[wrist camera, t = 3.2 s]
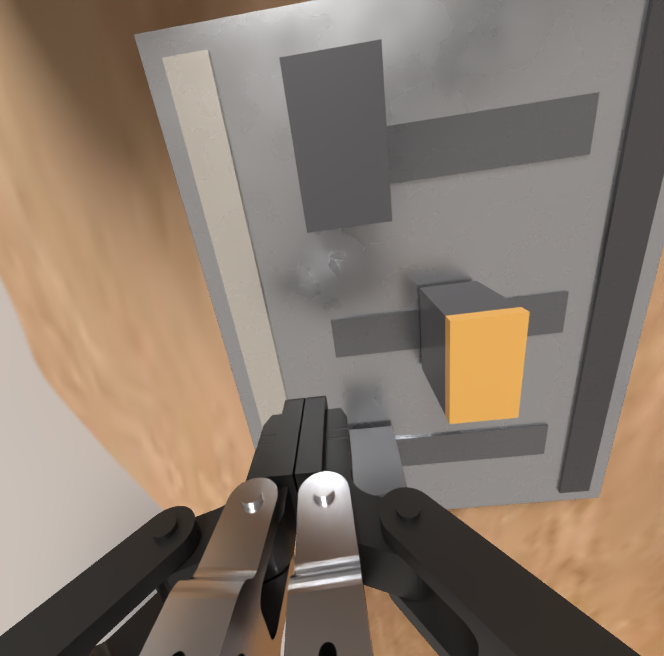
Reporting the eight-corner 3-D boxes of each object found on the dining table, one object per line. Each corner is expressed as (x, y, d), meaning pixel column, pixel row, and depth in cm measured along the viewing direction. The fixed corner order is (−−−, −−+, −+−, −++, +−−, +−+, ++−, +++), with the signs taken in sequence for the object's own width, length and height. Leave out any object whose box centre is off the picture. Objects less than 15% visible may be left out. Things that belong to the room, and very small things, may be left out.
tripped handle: (476, 280, 17) (529, 311, 12) (473, 363, 19) (518, 417, 14) (419, 287, 17) (450, 321, 12) (421, 368, 19) (449, 424, 14)
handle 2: (392, 425, 20) (408, 492, 16) (396, 482, 22) (412, 556, 18) (346, 430, 21) (348, 496, 16) (354, 486, 22) (358, 560, 18)
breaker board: (690, -44, 13) (753, -87, 11) (579, 475, 25) (601, 499, 23) (158, 54, 15) (130, 32, 13) (280, 499, 26) (275, 524, 24)
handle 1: (366, 93, 14) (381, 39, 9) (376, 214, 15) (392, 221, 11) (298, 105, 14) (279, 57, 9) (316, 223, 16) (307, 233, 11)
